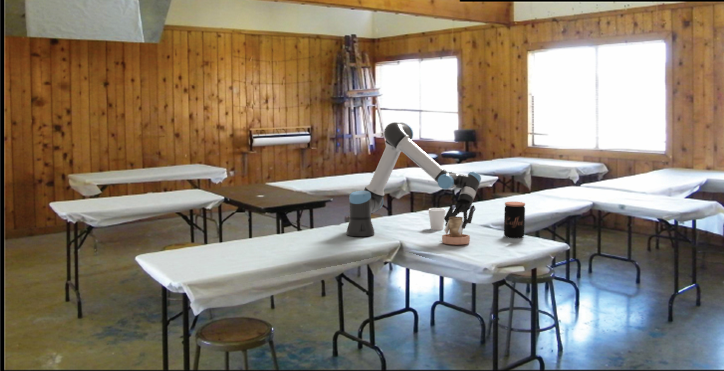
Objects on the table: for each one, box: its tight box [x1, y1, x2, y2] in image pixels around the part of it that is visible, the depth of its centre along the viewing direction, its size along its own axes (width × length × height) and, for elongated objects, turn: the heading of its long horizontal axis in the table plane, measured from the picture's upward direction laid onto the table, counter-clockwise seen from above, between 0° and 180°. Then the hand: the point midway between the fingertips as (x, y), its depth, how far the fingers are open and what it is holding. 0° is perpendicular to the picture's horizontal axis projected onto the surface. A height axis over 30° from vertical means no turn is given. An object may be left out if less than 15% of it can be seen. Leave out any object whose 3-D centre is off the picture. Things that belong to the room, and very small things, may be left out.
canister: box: [448, 216, 464, 237], centre depth 338 cm, size 7×7×11 cm
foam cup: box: [428, 207, 447, 231], centre depth 379 cm, size 10×9×13 cm
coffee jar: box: [503, 201, 526, 239], centre depth 358 cm, size 11×11×18 cm
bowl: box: [441, 233, 471, 246], centre depth 339 cm, size 14×14×4 cm
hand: (452, 232), depth 336 cm, fingers open, 7 cm apart
